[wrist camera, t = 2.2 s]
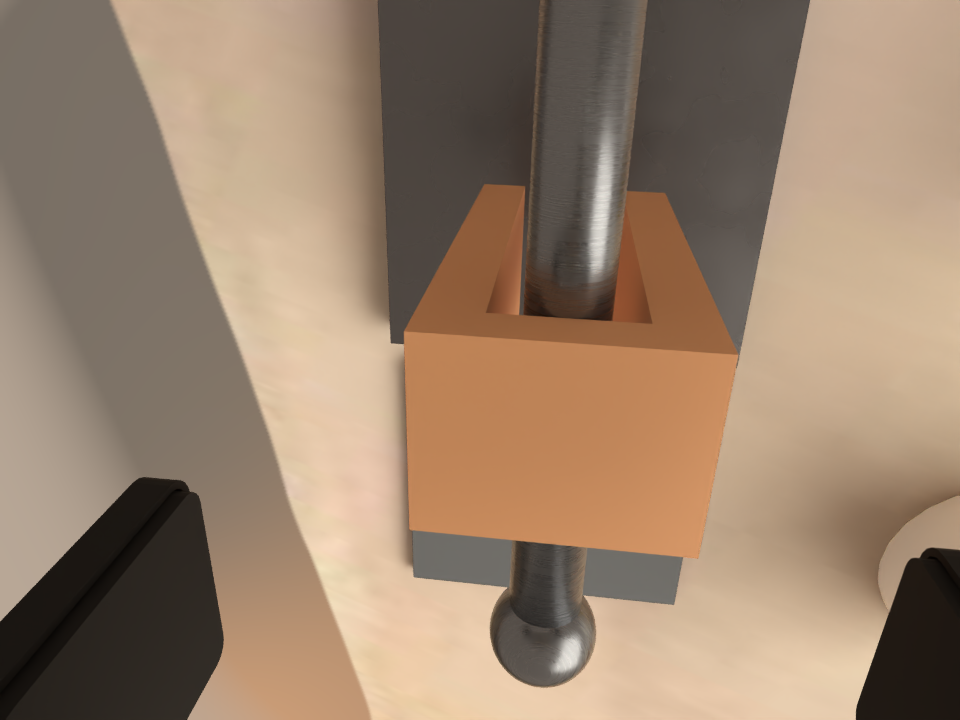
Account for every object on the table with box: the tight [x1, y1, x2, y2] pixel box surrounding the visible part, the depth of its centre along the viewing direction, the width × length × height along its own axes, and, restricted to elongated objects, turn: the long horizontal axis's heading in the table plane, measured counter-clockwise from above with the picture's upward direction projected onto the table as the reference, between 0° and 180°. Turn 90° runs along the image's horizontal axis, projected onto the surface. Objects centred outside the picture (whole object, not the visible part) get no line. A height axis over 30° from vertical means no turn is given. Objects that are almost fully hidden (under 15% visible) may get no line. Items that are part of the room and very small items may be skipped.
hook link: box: [404, 184, 738, 559], centre depth 17 cm, size 4×5×11 cm
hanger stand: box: [378, 0, 810, 688], centre depth 19 cm, size 22×14×17 cm, turn 179°
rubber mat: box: [412, 530, 683, 605], centre depth 34 cm, size 12×13×1 cm
